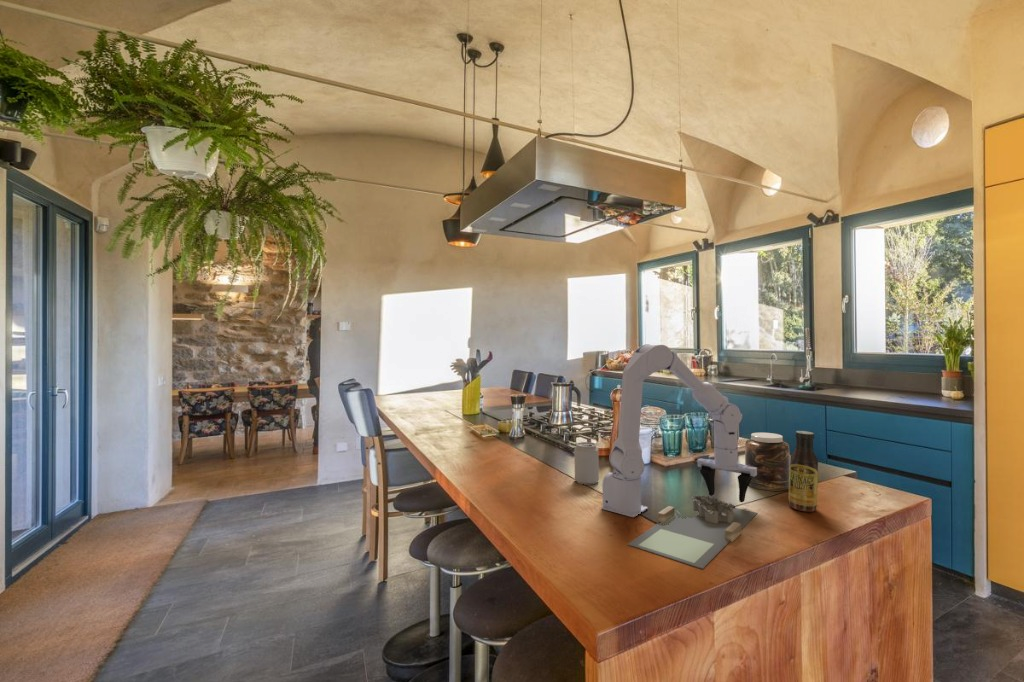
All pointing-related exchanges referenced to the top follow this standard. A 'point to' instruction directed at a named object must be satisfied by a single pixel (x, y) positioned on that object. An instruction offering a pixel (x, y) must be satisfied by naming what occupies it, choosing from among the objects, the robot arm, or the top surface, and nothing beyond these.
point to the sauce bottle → (803, 474)
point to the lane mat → (690, 538)
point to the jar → (768, 461)
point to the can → (586, 463)
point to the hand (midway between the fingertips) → (726, 497)
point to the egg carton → (707, 509)
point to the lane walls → (730, 532)
